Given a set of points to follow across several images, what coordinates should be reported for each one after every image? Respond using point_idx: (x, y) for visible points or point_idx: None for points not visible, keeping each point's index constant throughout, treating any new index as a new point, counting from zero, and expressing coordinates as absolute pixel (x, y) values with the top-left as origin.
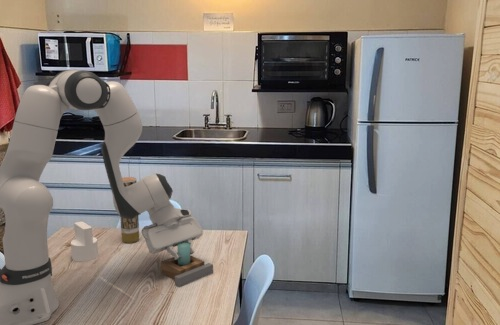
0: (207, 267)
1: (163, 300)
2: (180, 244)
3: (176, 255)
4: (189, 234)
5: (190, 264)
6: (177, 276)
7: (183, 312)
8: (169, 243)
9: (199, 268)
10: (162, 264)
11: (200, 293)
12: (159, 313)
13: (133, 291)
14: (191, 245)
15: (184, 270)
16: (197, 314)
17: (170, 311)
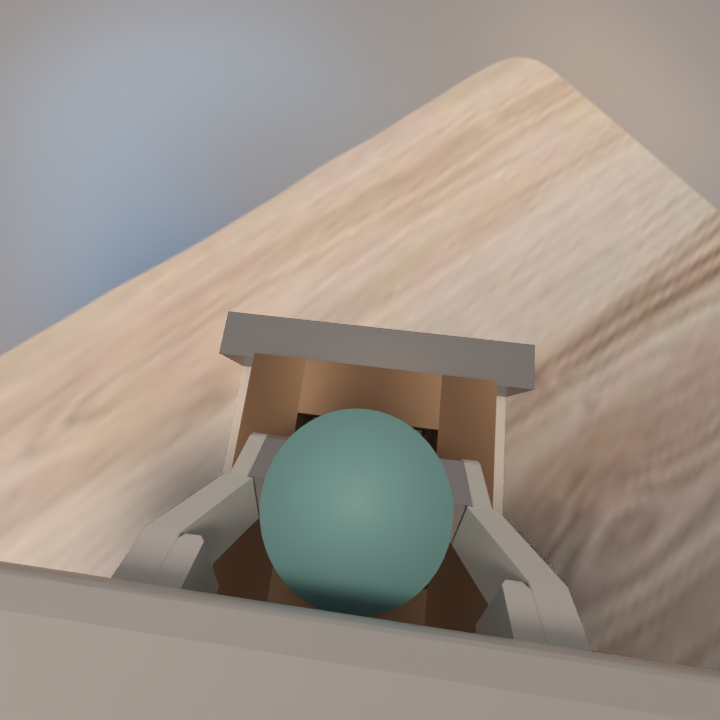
0: (279, 318)
1: (625, 348)
2: (371, 567)
3: (483, 481)
4: (37, 662)
5: (359, 399)
6: (521, 372)
7: (619, 200)
8: (619, 684)
9: (332, 341)
10: None
11: (446, 258)
12: (710, 272)
13: (703, 576)
14: (216, 491)
15: (447, 377)
16: (584, 149)
17: (659, 247)
